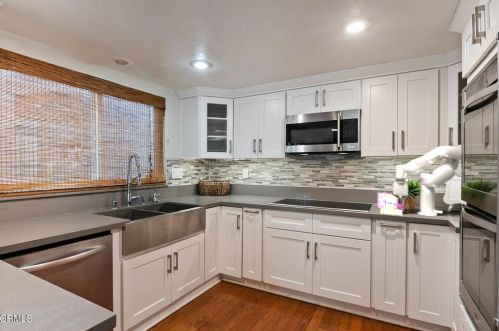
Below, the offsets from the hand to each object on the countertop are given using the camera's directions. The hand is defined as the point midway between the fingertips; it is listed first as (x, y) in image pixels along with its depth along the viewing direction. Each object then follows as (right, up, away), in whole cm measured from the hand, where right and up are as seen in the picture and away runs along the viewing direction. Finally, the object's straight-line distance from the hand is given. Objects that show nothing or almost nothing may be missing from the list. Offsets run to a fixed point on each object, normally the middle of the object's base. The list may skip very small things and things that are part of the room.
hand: (400, 203), depth 209 cm
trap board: (-4, -8, +6) cm, 11 cm away
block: (-5, -5, +4) cm, 8 cm away
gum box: (+4, -8, +23) cm, 25 cm away
